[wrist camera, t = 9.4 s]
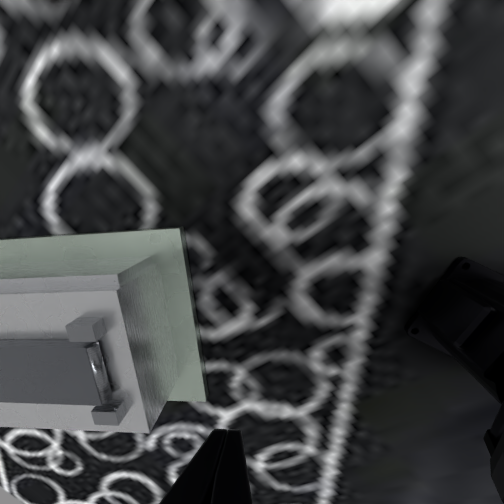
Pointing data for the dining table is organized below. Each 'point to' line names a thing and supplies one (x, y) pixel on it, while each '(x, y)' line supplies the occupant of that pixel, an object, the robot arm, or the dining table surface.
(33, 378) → the dark grey flat bar
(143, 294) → the board
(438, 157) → the dining table surface
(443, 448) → the dining table surface
